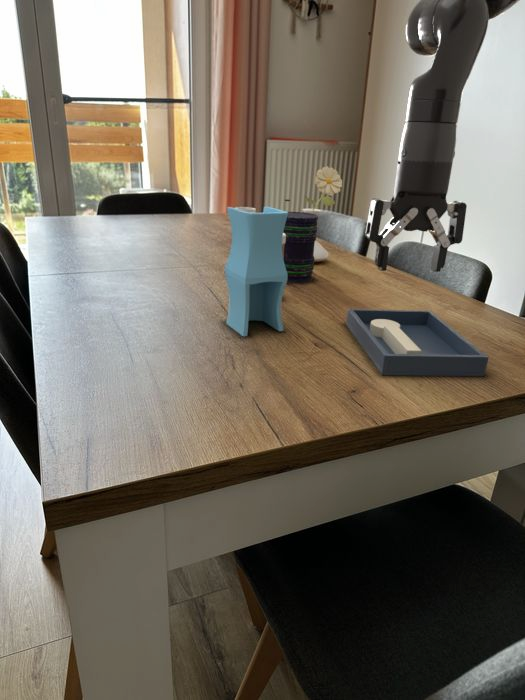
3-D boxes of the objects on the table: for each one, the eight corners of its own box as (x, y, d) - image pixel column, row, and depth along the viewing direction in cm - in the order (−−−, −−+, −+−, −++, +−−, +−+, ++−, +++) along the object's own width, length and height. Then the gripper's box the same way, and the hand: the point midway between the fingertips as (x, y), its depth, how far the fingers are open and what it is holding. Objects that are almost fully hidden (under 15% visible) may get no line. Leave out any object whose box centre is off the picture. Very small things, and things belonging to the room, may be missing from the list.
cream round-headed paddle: (366, 328, 91) (367, 315, 90) (393, 328, 92) (395, 315, 91) (395, 365, 76) (398, 350, 75) (427, 365, 77) (430, 350, 76)
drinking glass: (229, 238, 167) (230, 207, 164) (245, 237, 172) (246, 206, 168) (242, 242, 163) (244, 210, 159) (258, 240, 167) (260, 209, 163)
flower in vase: (288, 264, 138) (296, 165, 128) (285, 255, 148) (292, 163, 139) (337, 266, 138) (347, 168, 129) (330, 257, 149) (339, 166, 139)
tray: (427, 326, 96) (430, 310, 94) (484, 376, 76) (488, 357, 75) (346, 324, 94) (347, 308, 93) (381, 375, 74) (384, 355, 73)
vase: (262, 317, 96) (268, 206, 88) (283, 330, 89) (292, 212, 82) (223, 321, 92) (226, 206, 84) (243, 336, 86) (248, 213, 78)
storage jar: (319, 278, 125) (327, 201, 118) (300, 285, 118) (306, 204, 111) (285, 270, 130) (290, 197, 123) (263, 278, 123) (268, 200, 116)
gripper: (461, 159, 77) (442, 265, 83) (369, 155, 76) (356, 263, 82) (486, 161, 70) (463, 277, 76) (385, 157, 69) (370, 275, 75)
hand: (408, 270), depth 79 cm, fingers open, 8 cm apart
